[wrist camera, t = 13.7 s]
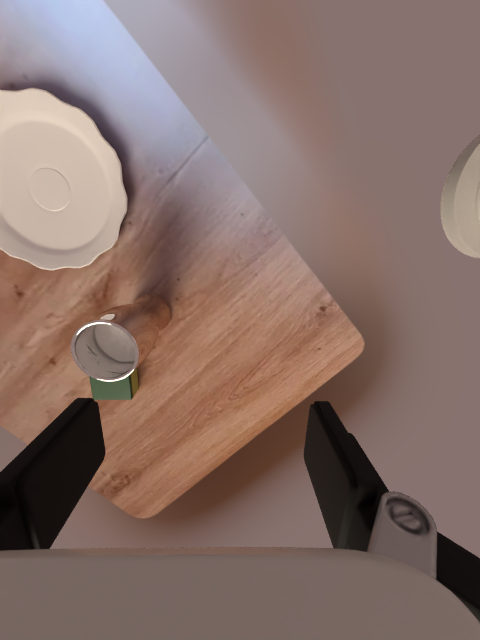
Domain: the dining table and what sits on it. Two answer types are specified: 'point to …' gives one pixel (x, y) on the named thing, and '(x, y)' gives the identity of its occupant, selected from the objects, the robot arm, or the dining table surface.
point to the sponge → (115, 388)
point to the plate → (56, 182)
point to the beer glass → (120, 338)
